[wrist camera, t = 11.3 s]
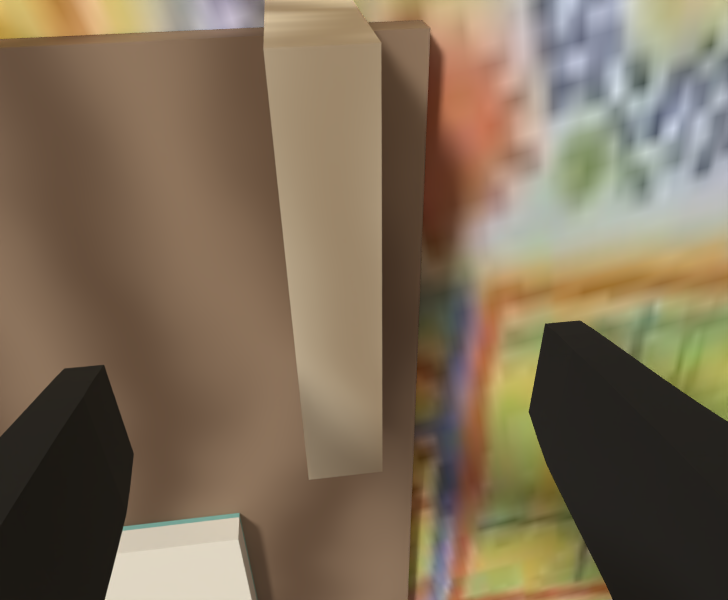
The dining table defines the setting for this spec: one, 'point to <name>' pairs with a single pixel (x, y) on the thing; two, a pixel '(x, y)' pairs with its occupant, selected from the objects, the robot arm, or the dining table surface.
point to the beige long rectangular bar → (331, 221)
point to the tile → (183, 561)
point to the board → (203, 287)
